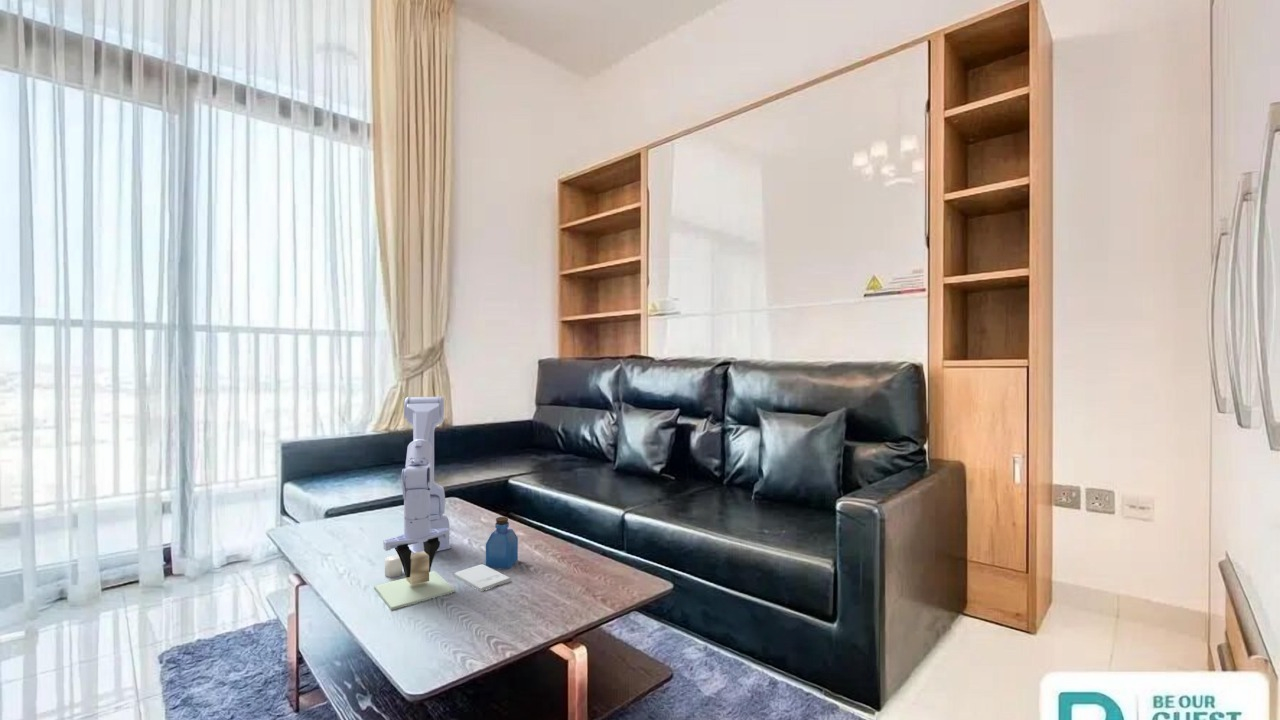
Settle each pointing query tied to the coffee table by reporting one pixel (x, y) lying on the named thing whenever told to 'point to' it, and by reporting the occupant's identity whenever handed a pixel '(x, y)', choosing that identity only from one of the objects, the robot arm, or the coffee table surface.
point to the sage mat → (412, 591)
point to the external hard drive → (481, 577)
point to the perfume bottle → (502, 546)
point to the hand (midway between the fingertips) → (417, 573)
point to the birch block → (419, 568)
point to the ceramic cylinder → (393, 566)
